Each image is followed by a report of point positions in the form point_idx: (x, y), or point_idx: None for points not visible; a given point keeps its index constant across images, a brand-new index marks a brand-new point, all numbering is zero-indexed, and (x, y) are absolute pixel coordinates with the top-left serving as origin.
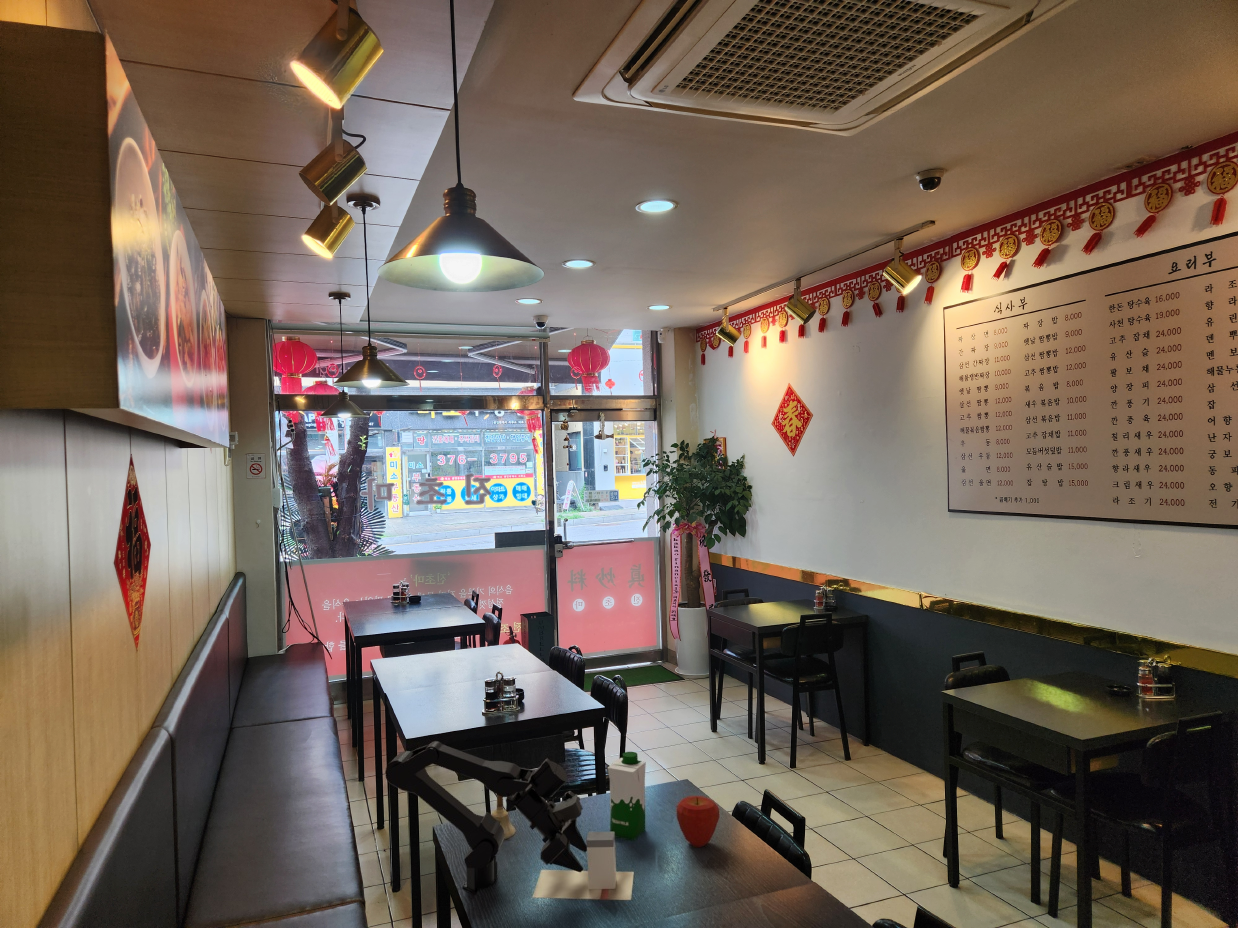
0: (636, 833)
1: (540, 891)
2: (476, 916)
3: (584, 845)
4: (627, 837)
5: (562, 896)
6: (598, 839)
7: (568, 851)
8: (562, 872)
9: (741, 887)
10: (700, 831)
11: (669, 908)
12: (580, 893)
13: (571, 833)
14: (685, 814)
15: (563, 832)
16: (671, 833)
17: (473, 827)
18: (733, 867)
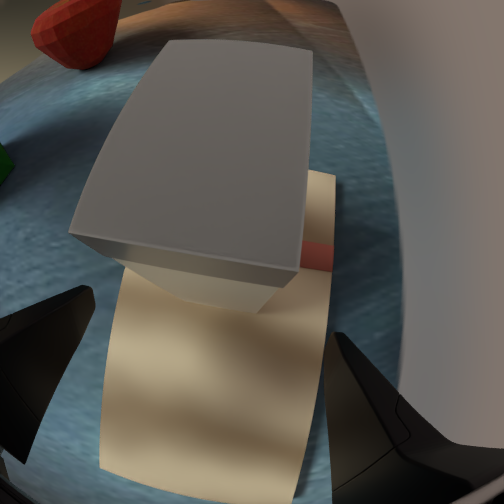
0: (6, 153)
1: (252, 488)
2: None
3: (75, 304)
4: (3, 176)
5: (300, 416)
6: (292, 132)
7: (461, 447)
8: (117, 405)
9: (263, 25)
10: (114, 21)
11: (343, 110)
12: (286, 348)
13: (7, 387)
14: (84, 10)
15: (5, 439)
16: (35, 102)
17: None
18: (194, 25)
